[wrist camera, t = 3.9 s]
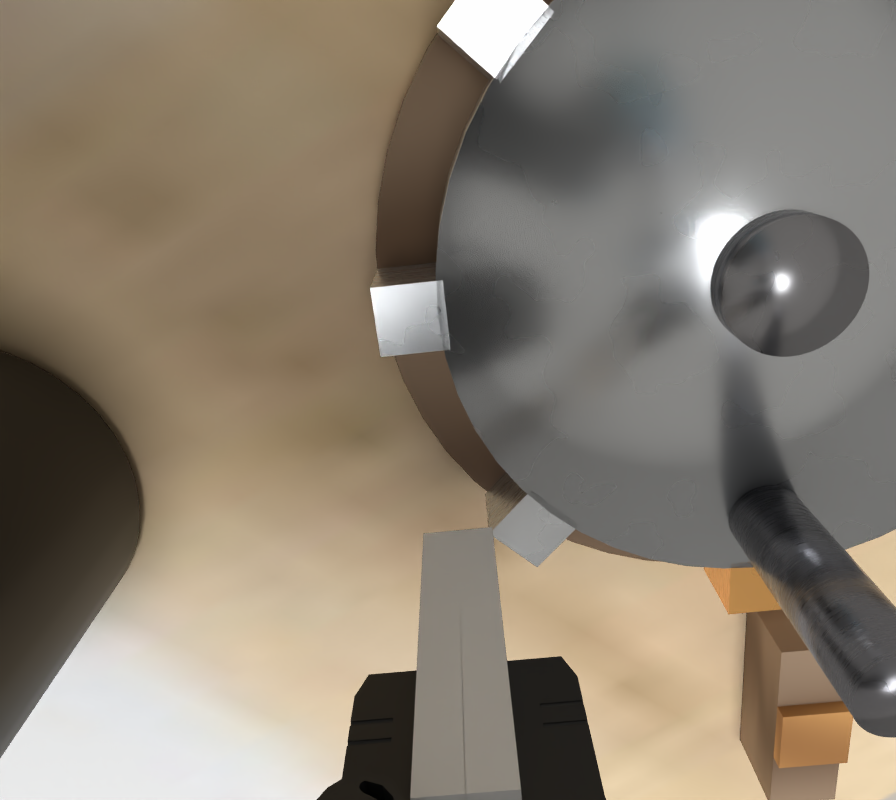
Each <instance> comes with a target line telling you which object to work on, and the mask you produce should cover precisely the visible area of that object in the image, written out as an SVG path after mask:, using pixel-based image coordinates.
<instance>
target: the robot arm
mask: <svg viewBox="0 0 896 800" xmlns="http://www.w3.org/2000/svg"><path fill="white" fill-rule="evenodd" d="M317 800H606V798H605V795H604V791H603V786H602V782H601V778H600V773H599V769H598V764H597V760H596V756H595V751H594V747H593V743H592V738H591V734H590V730H589V725H588V722H587V716H586V712H585V708H584V705H583V699H582V695H581V690H580V686H579V682H578V677H577V675H576V674H575V673H574V672H573V670H572V669H571V668H570V667H569V665H568V664H567V663H566V662H565V661H564V659H563V658H562V657H561V656H560V657H549V658H537V659H525V660H514V661H507V657H506V648H505V639H504V630H503V621H502V612H501V603H500V593H499V584H498V575H497V566H496V557H495V548H494V539H493V530H492V527H489V528H478V529H467V530H456V531H445V532H435V533H424V535H423V555H422V575H421V594H420V614H419V634H418V654H417V671H406V672H394V673H382V674H371V675H368V677H367V678H366V680H365V681H364V683H363V685H362V686H361V688H360V689H359V691H358V692H357V694H356V695H355V697H354V704H353V710H352V717H351V726H350V730H349V736H348V746H347V749H346V756H345V762H344V769H343V776H342V779H341V780H340V781H338V782H336V783H335V784H333V785H331V786H330V787H328V788H327V789H326V790H325V791H324V792H323V793H322V794H321V796H320V797H319V798H318V799H317Z"/></svg>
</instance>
